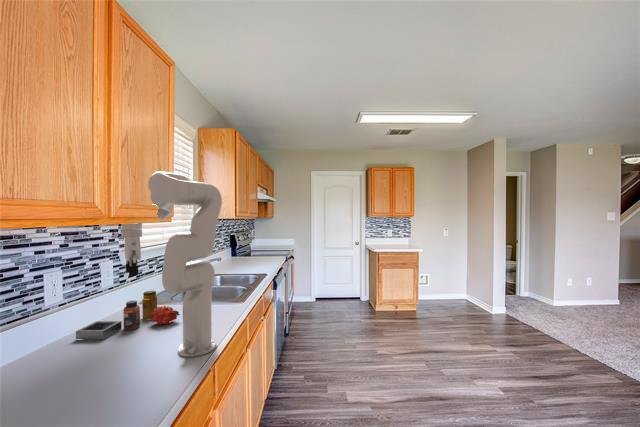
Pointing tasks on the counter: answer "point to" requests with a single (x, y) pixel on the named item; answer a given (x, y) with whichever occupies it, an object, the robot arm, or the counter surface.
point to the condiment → (149, 304)
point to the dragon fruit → (163, 315)
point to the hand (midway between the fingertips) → (131, 273)
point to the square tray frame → (99, 330)
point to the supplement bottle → (131, 315)
